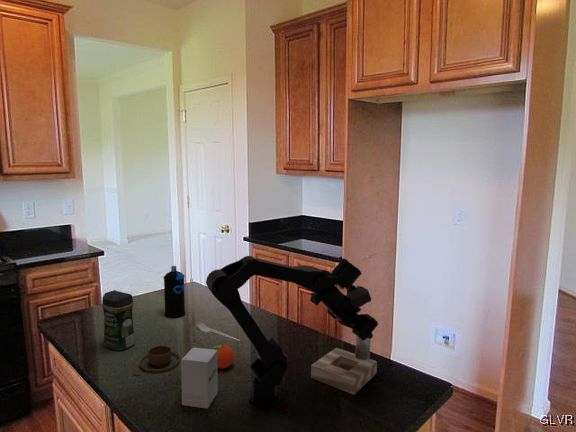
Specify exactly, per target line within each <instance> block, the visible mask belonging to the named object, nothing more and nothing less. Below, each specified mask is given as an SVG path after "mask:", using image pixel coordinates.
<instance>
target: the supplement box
mask: <svg viewBox="0 0 576 432" xmlns="http://www.w3.org/2000/svg"><path fill="white" fill-rule="evenodd" d="M217 351H218V350H214V349H211V348H204V347H203V348H202V347H191V349H190V350H189V351H188V352H187V353H186V354H185V355H184V357H182V359H180V361H181V362H180V365H181V368H180V369H181V370H180V371H181V372H180V373H181V375H180V376H181V405H182V406H187V407H194V408H200V409H201V408H202V409H209V407H210V405H211V404H212V402H213V401H214V399H215V397H216V396H217V395H218V392H219V391H218V388H219V383H218V382H219V375H218V371H219V370H218V369H219V368H218V354H217Z"/></svg>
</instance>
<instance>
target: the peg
mask: <svg viewBox="0 0 576 432" xmlns="http://www.w3.org/2000/svg"><path fill="white" fill-rule="evenodd" d="M357 319H359V318H357ZM355 336H356V335H355ZM370 353H371V339H369V338H367V339H366V340H362V339H360V338H359V337H358V336H356V338H355V353H354V354H355V357H356V358H357V359H360V360H368V359H370V356H371V355H370Z"/></svg>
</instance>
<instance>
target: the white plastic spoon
mask: <svg viewBox="0 0 576 432" xmlns="http://www.w3.org/2000/svg"><path fill="white" fill-rule="evenodd" d="M196 326H197V328H198V329H199V330H200V331H202V332H205V333H214V334H217V335H220V336H222V337H226V338H228V339H231V340H235V341H238V342H240V341H241V339H239V338H236V337H234V336H232V335H228V334H226V333H223V332H221V331H219V330H216V329H213V328H211V327H208V326H206V325H205V324H204V323H203V322H198V323H197V324H196Z"/></svg>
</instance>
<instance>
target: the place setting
mask: <svg viewBox="0 0 576 432" xmlns="http://www.w3.org/2000/svg"><path fill="white" fill-rule="evenodd" d="M172 357H173V358H175V359H176V360H177V362H175V363H174V364H173V365H171V366H168V367H164V366H165V365H167V364H168V363H169V362H170V361H171V360H172ZM146 361H148V362H149V364H151V365H153V366H154V367H157V369H155V368H154V369H153V368H148V367H147V368H146V367H144V366H143V364H144V363H145V362H146ZM180 361H181V357H180V354H179V353H177V352H173V351H172V348H171V347H170V346H169V345H157V346H153V347H151V348H150V349H148V351H147V354H146V355H144V356H143V357H141V359H139V367H140V369H141V370H142V371H144V372H145V373H150V374H158V373H165V372H168V371H169V372H170V371H171V370H173V369H175V368H177V366H178V365H179V364H180V363H181V362H180ZM158 367H164V368H160V369H158ZM132 370H133V375H134V376H136V377H138V376H141V373H142V372H141V371H140V370H137V369H135V368H132Z"/></svg>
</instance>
